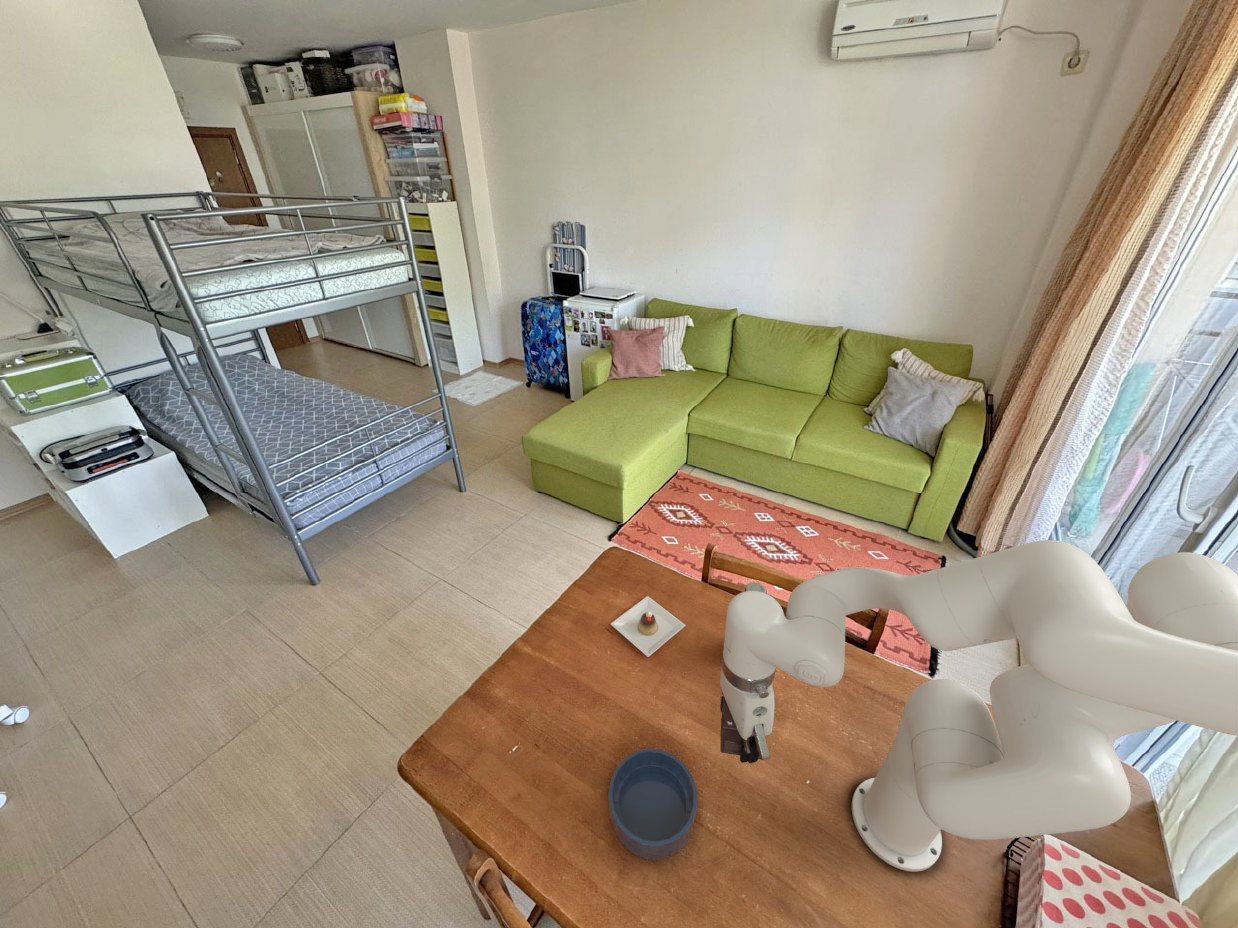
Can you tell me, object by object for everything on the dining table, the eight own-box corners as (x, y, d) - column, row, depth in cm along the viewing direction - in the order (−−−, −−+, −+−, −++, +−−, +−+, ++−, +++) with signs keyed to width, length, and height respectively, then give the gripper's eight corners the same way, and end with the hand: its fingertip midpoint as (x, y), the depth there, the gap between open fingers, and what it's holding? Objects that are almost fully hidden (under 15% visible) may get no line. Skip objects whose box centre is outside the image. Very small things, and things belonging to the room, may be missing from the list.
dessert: (648, 660, 104) (648, 645, 101) (610, 626, 111) (609, 612, 109) (685, 628, 111) (686, 613, 108) (647, 598, 118) (647, 584, 116)
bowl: (680, 757, 87) (681, 740, 84) (706, 849, 76) (709, 833, 73) (603, 774, 85) (602, 757, 82) (618, 871, 74) (617, 855, 71)
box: (758, 760, 78) (762, 734, 75) (719, 753, 80) (722, 727, 76) (757, 723, 84) (761, 697, 80) (720, 717, 85) (723, 691, 81)
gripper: (802, 715, 65) (785, 783, 74) (748, 614, 79) (739, 682, 89) (748, 728, 64) (738, 795, 73) (703, 623, 78) (699, 690, 88)
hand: (739, 732), depth 81 cm, fingers closed on box, 7 cm apart
